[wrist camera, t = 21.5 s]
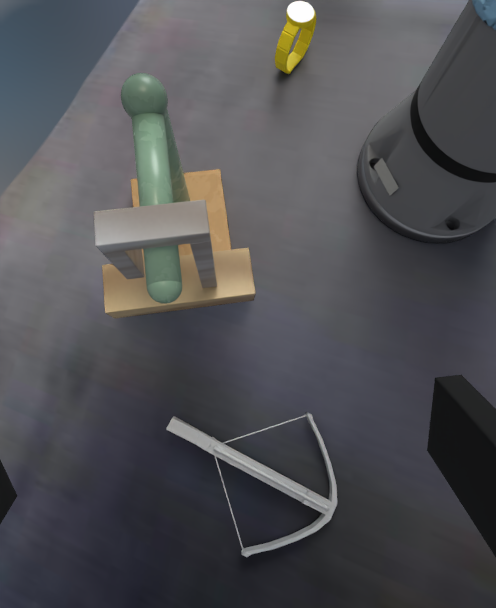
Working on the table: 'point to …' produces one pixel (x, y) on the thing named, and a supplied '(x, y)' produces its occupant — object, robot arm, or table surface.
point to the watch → (297, 18)
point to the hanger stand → (167, 182)
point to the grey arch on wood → (194, 268)
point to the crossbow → (267, 479)
